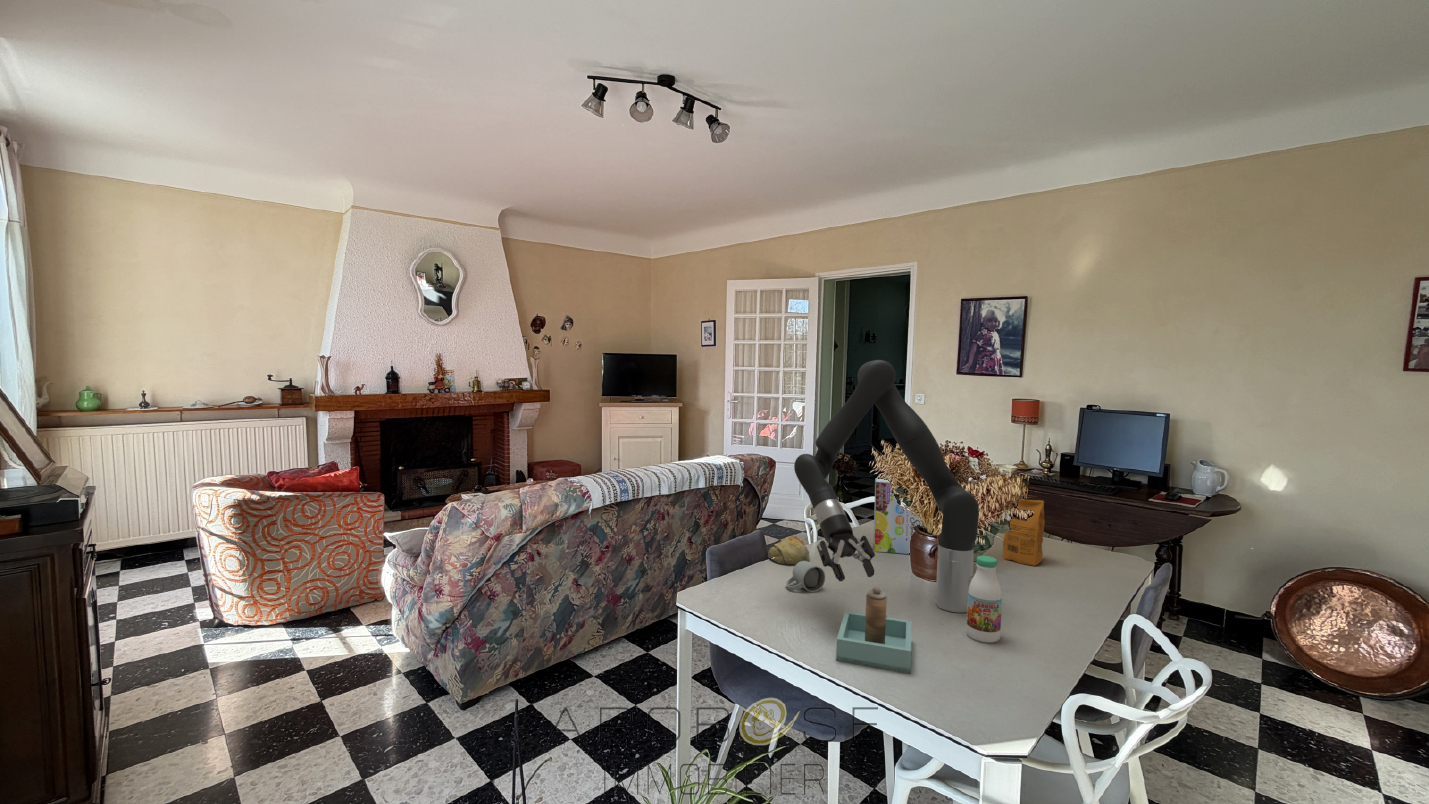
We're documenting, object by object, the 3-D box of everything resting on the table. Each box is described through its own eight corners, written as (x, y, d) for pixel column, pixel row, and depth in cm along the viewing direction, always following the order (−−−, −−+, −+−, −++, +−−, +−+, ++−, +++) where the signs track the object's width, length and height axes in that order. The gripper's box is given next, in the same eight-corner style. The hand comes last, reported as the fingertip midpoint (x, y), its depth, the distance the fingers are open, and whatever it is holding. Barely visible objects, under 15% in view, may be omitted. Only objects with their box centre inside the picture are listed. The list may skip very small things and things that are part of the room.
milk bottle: (961, 628, 151) (964, 552, 150) (991, 629, 151) (995, 553, 150) (973, 643, 144) (977, 563, 142) (1005, 644, 143) (1010, 563, 142)
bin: (910, 640, 144) (911, 621, 144) (910, 673, 129) (911, 651, 129) (844, 630, 150) (844, 611, 149) (836, 660, 134) (836, 638, 134)
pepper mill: (885, 643, 141) (887, 584, 140) (884, 652, 136) (886, 591, 135) (865, 640, 142) (867, 582, 141) (863, 648, 138) (865, 589, 137)
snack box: (934, 549, 215) (937, 480, 213) (937, 557, 207) (940, 485, 205) (872, 544, 220) (875, 476, 218) (873, 552, 211) (876, 481, 210)
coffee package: (1009, 552, 213) (1012, 492, 212) (1046, 561, 204) (1050, 499, 203) (997, 558, 207) (1000, 496, 205) (1035, 568, 198) (1039, 503, 196)
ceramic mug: (811, 580, 183) (811, 556, 182) (825, 590, 175) (826, 565, 175) (780, 585, 179) (781, 560, 178) (794, 595, 171) (794, 570, 171)
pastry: (815, 559, 203) (816, 536, 203) (801, 569, 193) (802, 545, 192) (778, 551, 211) (779, 529, 210) (762, 561, 200) (763, 538, 199)
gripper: (814, 515, 150) (838, 574, 141) (861, 510, 156) (888, 567, 146) (803, 530, 156) (826, 588, 146) (849, 525, 161) (874, 581, 151)
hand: (857, 578), depth 146 cm, fingers open, 8 cm apart
